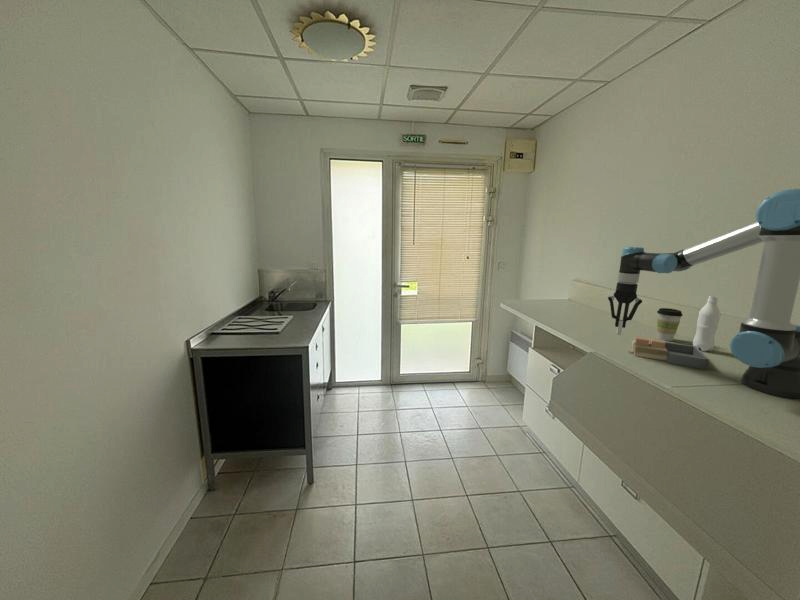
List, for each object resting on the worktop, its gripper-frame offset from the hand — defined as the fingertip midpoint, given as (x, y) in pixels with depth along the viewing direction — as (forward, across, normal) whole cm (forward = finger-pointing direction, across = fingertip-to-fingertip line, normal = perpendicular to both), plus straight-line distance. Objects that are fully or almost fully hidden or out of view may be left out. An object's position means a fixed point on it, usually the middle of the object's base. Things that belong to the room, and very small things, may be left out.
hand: (618, 333), depth 148 cm
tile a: (+3, -9, 0) cm, 9 cm away
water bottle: (+7, -34, -20) cm, 40 cm away
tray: (+7, -23, 0) cm, 24 cm away
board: (+7, -12, 0) cm, 14 cm away
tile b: (+3, -14, 0) cm, 14 cm away
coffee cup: (+7, -22, -30) cm, 38 cm away
